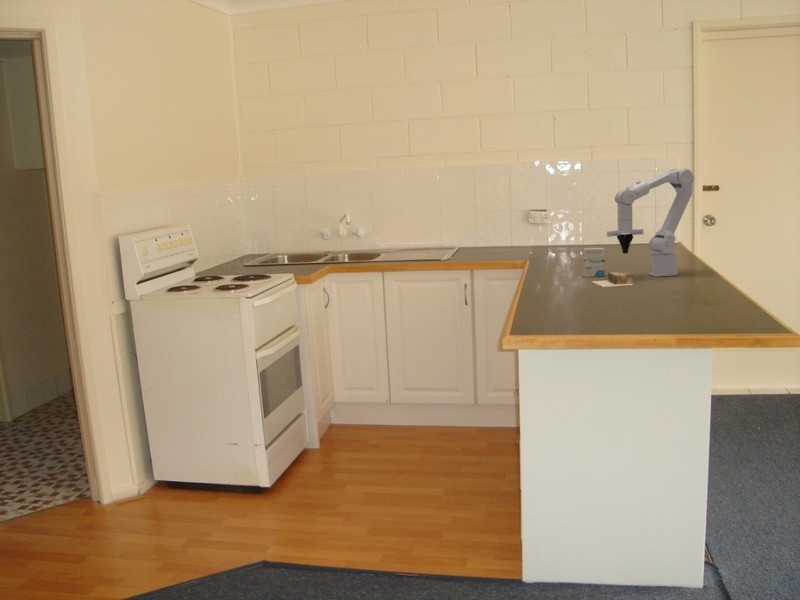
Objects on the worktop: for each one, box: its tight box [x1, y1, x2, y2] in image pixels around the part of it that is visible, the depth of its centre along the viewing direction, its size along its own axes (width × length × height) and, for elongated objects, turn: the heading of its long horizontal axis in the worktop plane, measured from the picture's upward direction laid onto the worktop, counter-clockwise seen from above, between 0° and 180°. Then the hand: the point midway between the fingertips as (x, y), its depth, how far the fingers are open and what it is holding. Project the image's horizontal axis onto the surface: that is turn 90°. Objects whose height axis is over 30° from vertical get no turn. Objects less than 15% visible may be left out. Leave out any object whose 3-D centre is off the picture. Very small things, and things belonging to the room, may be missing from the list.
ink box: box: [583, 247, 606, 278], centre depth 324 cm, size 8×5×12 cm, turn 74°
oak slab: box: [607, 271, 634, 284], centre depth 302 cm, size 4×8×7 cm
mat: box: [590, 279, 634, 289], centre depth 302 cm, size 12×14×1 cm
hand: (625, 253), depth 312 cm, fingers closed
